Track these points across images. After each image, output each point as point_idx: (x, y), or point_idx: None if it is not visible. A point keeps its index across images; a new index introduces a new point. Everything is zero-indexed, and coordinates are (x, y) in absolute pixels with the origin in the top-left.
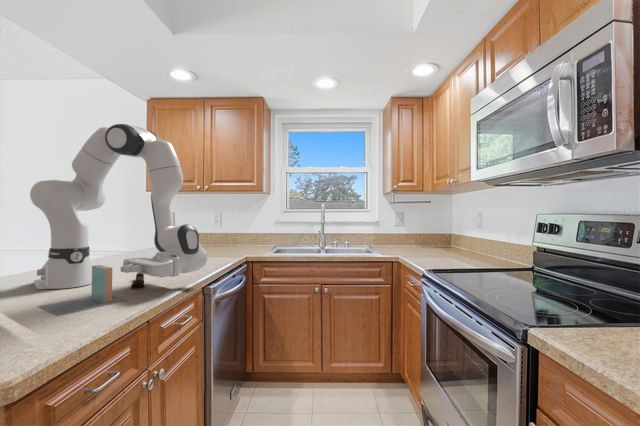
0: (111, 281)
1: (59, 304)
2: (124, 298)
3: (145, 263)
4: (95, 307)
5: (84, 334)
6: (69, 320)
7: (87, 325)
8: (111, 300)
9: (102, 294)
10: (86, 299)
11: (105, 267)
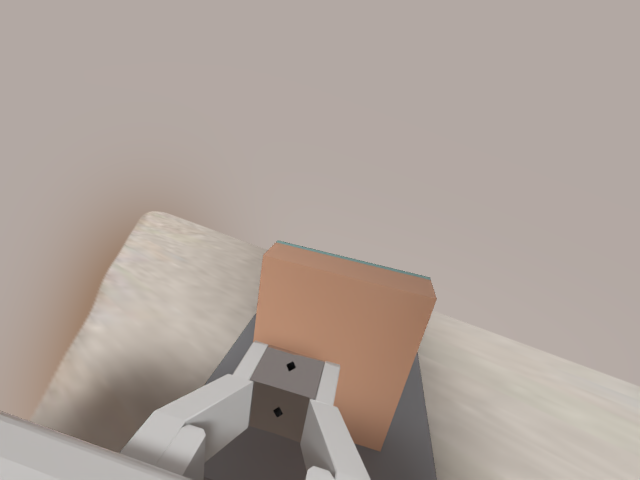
0: (255, 323)
1: None
2: (216, 474)
3: (25, 432)
4: (241, 337)
5: (147, 264)
6: (256, 305)
7: (179, 290)
8: None
9: None
10: None
11: (310, 258)
